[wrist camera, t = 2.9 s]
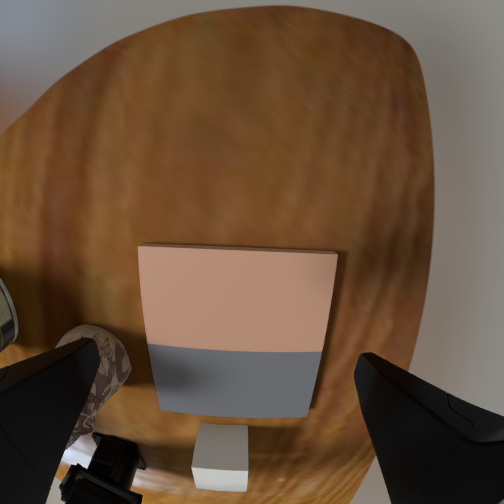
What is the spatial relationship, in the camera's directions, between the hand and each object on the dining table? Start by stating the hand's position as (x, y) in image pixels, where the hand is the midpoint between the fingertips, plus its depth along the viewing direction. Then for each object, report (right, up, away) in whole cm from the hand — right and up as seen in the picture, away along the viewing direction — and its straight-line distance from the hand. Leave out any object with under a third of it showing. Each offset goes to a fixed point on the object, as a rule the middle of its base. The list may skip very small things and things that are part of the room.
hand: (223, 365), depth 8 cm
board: (0, -4, +13) cm, 14 cm away
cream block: (-2, -16, +17) cm, 23 cm away
